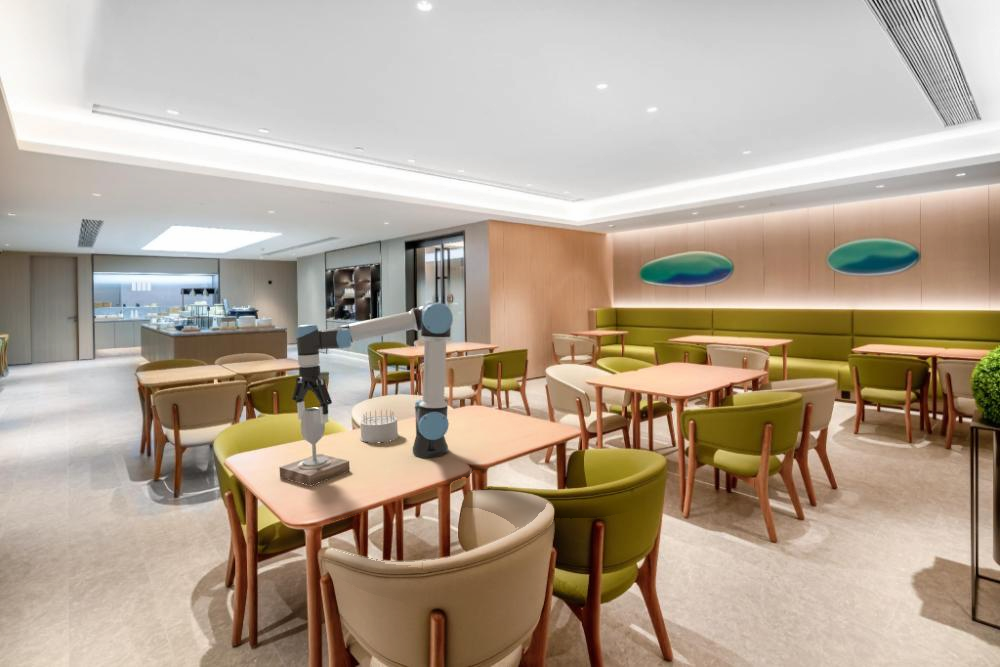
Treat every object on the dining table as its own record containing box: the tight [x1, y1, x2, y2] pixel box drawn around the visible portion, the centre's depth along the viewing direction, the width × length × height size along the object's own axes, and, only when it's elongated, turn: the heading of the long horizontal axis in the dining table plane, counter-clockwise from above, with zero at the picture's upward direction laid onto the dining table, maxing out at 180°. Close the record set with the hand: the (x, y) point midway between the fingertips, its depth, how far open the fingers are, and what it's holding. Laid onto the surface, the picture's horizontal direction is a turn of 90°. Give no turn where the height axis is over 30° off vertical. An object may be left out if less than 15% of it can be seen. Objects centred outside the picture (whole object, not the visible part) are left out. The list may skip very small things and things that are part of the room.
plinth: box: [279, 453, 351, 486], centre depth 194 cm, size 18×18×4 cm
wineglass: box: [300, 407, 327, 466], centre depth 193 cm, size 9×9×21 cm
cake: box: [359, 409, 400, 444], centre depth 241 cm, size 18×18×13 cm
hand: (313, 420), depth 192 cm, fingers open, 13 cm apart
